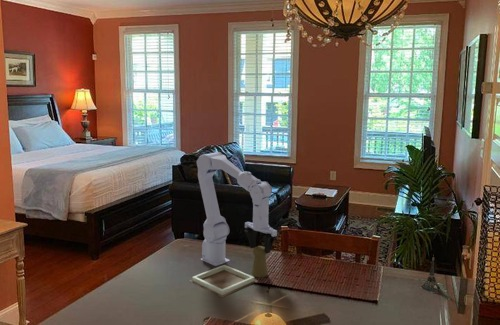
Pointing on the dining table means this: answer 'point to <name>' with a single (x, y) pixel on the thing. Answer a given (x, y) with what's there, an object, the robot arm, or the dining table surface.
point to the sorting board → (223, 281)
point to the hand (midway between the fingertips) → (260, 250)
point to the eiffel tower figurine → (433, 283)
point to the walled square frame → (223, 291)
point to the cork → (259, 262)
